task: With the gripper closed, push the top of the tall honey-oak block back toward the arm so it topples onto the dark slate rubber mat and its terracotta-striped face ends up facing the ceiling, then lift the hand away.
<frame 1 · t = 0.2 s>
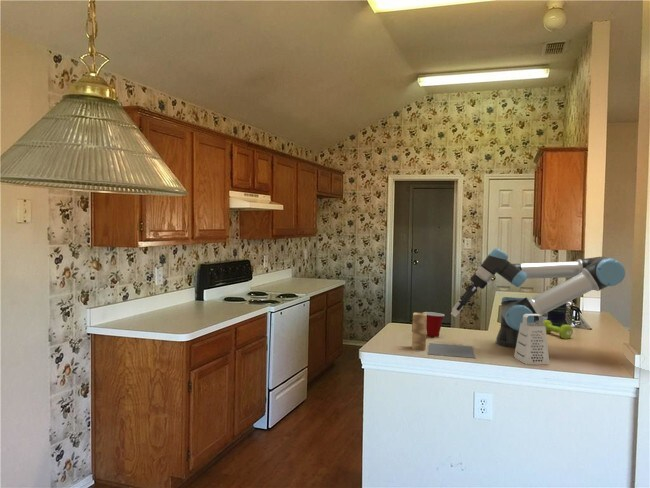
hand: (453, 313, 233), 16 cm above the table, tool tilted 35°, fingers open, 13 cm apart
storage jar: (555, 329, 277), on the table
oak block: (418, 348, 229), on the table
dumbbell: (555, 336, 260), on the table
plastic cup: (433, 336, 253), on the table
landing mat: (451, 350, 225), on the table
grater: (531, 361, 212), on the table
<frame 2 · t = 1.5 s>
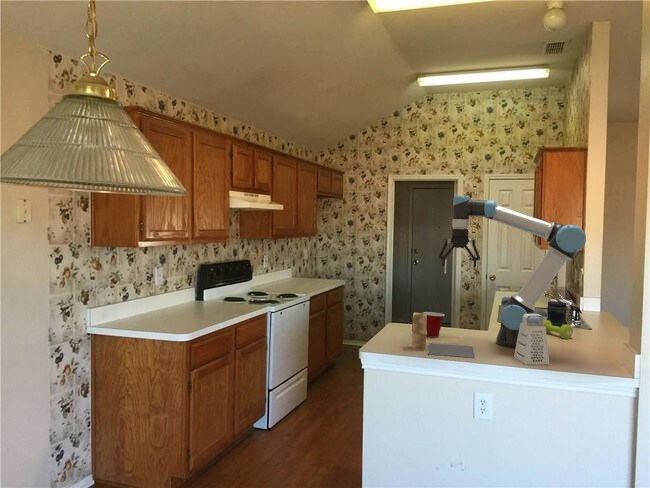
hand: (458, 273, 234), 34 cm above the table, tool pointing down, fingers open, 12 cm apart
nothing on the table moved.
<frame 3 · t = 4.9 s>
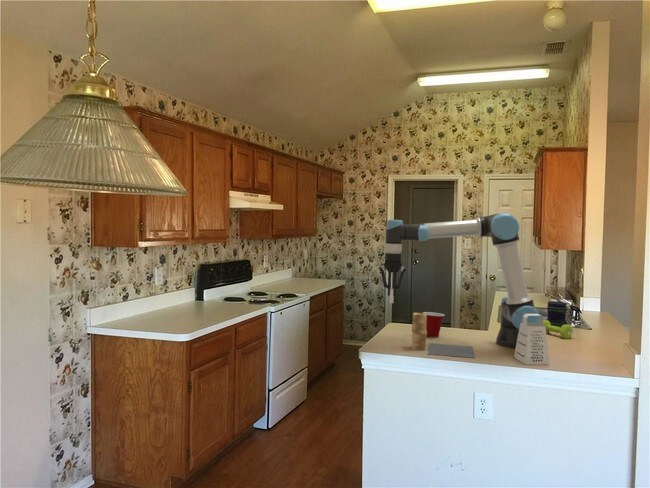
hand: (391, 302, 231), 21 cm above the table, tool pointing down, fingers closed
nothing on the table moved.
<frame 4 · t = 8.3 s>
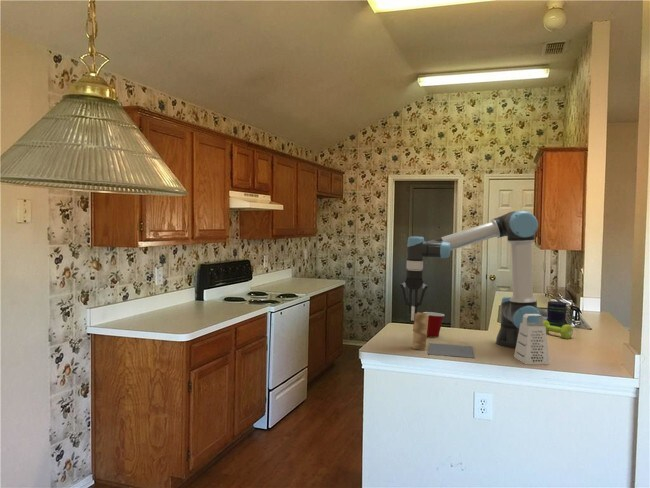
hand: (412, 320, 229), 13 cm above the table, tool pointing down, fingers closed
oak block: (418, 347, 228), on the table, touching gripper
everything else where it was.
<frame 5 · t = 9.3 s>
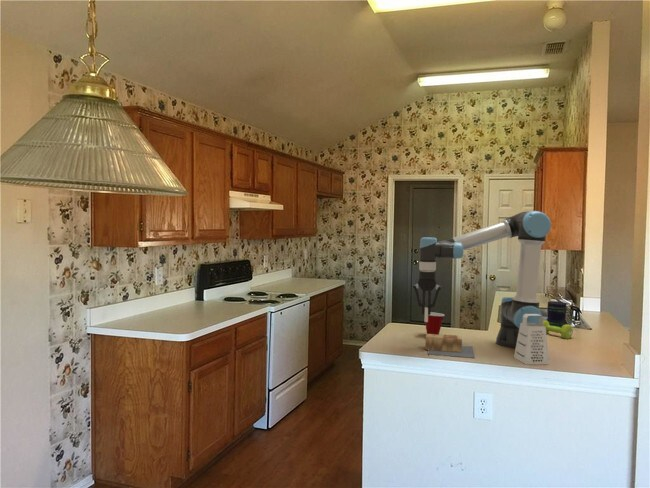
hand: (426, 321, 227), 13 cm above the table, tool pointing down, fingers closed
oak block: (425, 341, 228), point 3 cm above the table, tilted 90°, touching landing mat
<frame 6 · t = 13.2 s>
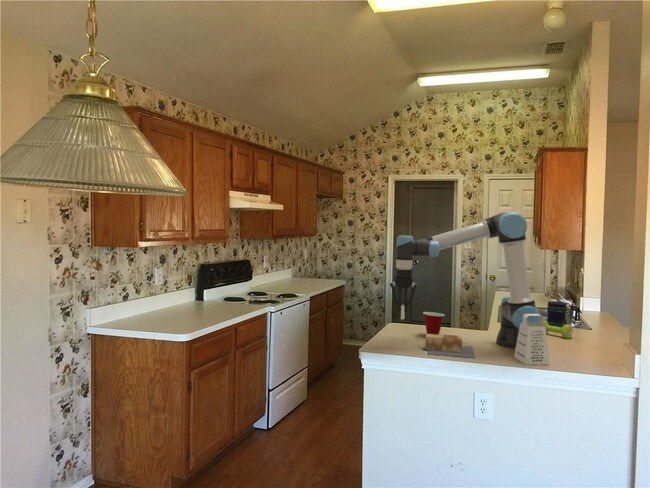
hand: (402, 318, 230), 13 cm above the table, tool pointing down, fingers closed
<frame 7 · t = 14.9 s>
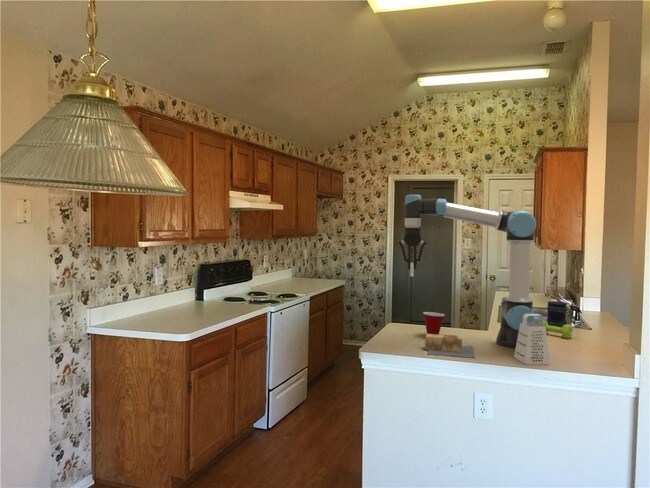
hand: (412, 276, 235), 33 cm above the table, tool pointing down, fingers closed
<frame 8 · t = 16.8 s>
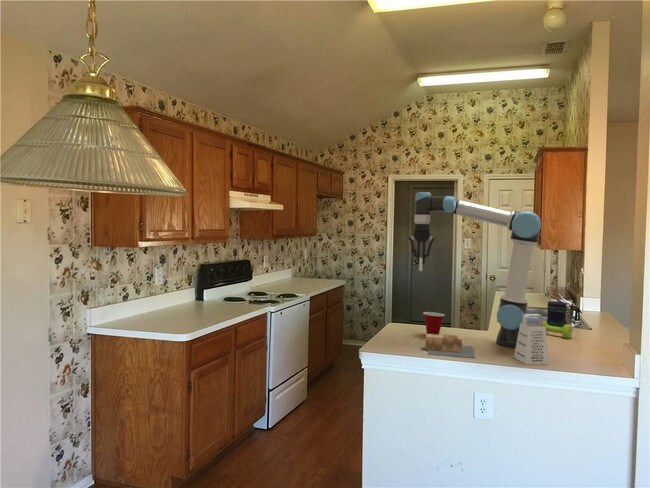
hand: (420, 270, 245), 34 cm above the table, tool pointing down, fingers closed
at the end: oak block tilted 90°; oak block inside the target area (0.5 cm from its centre), point 3.3 cm above the table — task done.
